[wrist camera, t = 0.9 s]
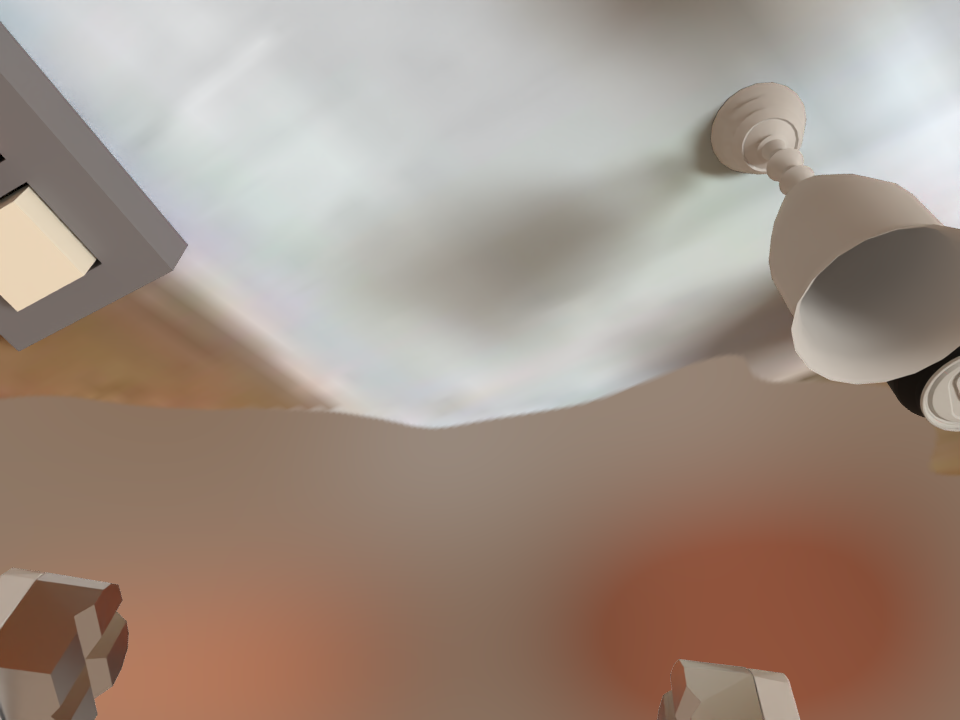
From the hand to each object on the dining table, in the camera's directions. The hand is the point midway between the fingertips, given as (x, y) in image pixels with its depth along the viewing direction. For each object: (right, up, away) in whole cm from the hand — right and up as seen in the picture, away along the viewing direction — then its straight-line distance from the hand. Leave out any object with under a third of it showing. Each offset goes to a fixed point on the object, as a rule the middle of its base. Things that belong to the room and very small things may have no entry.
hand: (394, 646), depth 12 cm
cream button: (-24, +11, +35) cm, 43 cm away
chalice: (+16, +17, +33) cm, 40 cm away
